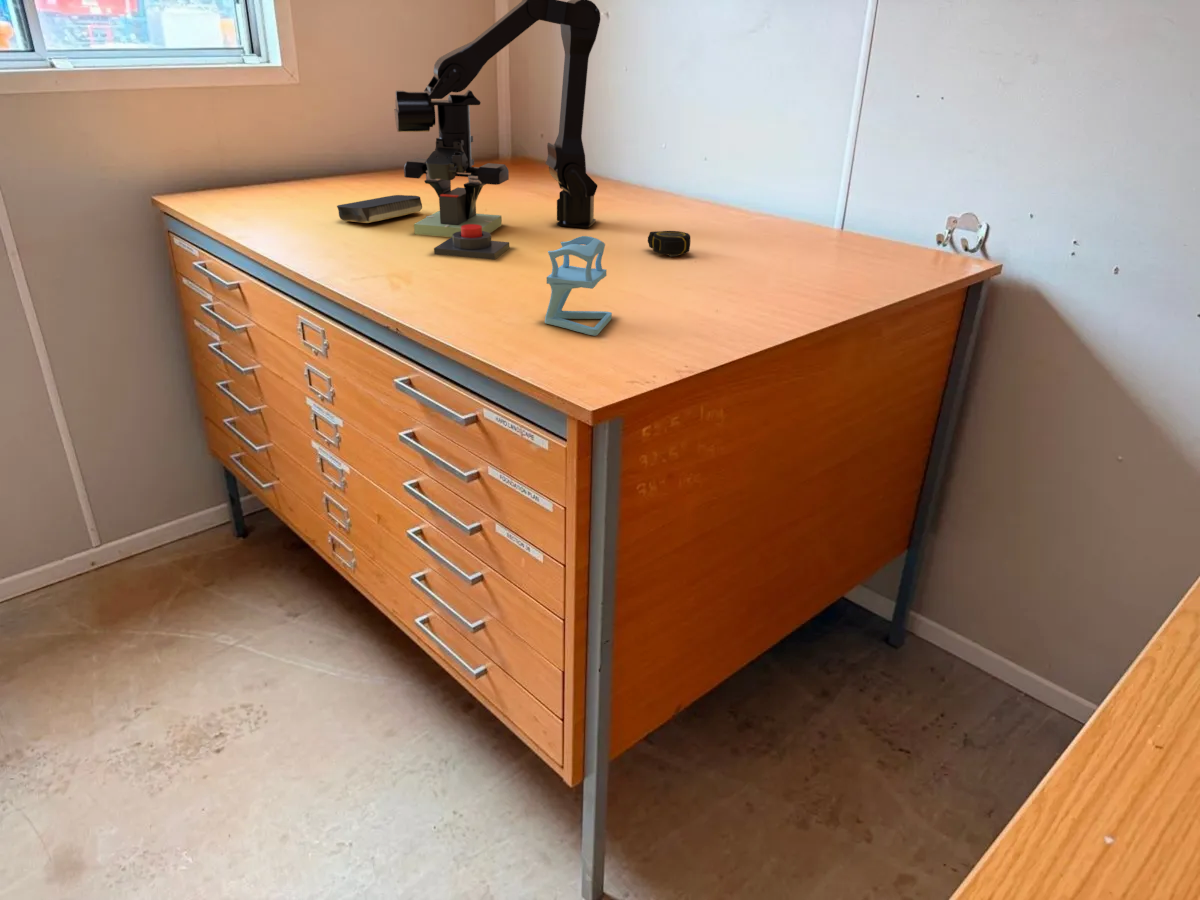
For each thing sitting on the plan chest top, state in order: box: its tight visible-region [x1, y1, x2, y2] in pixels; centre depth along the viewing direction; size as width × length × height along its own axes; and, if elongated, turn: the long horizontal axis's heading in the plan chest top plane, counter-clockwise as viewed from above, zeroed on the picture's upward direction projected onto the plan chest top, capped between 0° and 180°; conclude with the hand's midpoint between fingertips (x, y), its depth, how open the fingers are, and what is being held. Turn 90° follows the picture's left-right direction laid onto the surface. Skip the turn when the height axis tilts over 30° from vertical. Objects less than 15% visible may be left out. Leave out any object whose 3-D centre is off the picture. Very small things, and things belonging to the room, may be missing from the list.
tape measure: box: [647, 230, 691, 257], centre depth 154 cm, size 7×7×4 cm
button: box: [461, 224, 482, 238], centre depth 151 cm, size 4×4×2 cm
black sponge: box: [336, 194, 423, 224], centre depth 173 cm, size 16×8×4 cm, turn 143°
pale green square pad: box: [413, 210, 503, 238], centre depth 166 cm, size 13×13×2 cm
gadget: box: [438, 186, 477, 225], centre depth 164 cm, size 9×4×5 cm, turn 166°
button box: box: [433, 231, 511, 261], centre depth 152 cm, size 11×8×3 cm
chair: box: [544, 235, 613, 337], centre depth 118 cm, size 8×8×12 cm
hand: (458, 218), depth 165 cm, fingers closed on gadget, 4 cm apart
